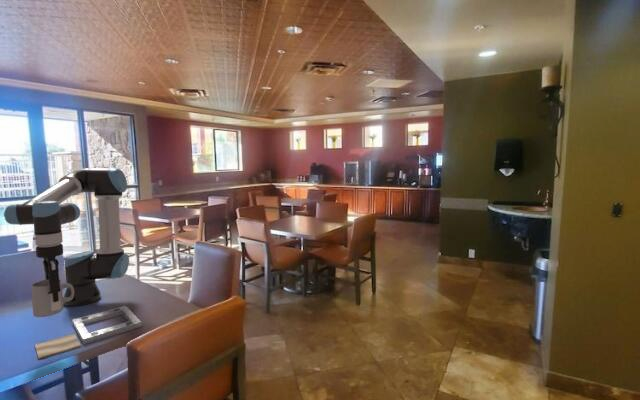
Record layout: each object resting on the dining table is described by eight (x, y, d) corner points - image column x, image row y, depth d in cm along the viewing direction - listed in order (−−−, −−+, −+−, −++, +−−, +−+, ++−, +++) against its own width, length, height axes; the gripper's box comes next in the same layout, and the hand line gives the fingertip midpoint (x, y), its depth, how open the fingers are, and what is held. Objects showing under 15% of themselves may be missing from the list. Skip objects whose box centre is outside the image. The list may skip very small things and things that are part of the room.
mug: (32, 319, 115) (29, 288, 114) (34, 311, 122) (31, 281, 121) (75, 310, 122) (73, 281, 121) (75, 303, 129) (73, 275, 128)
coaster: (34, 346, 124) (34, 344, 124) (74, 334, 132) (74, 333, 132) (38, 359, 116) (38, 358, 115) (80, 346, 124) (80, 344, 124)
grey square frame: (72, 324, 141) (72, 319, 141) (125, 309, 155) (125, 305, 155) (83, 344, 125) (83, 339, 125) (141, 326, 139) (141, 321, 139)
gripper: (32, 241, 125) (37, 300, 127) (39, 252, 110) (44, 318, 112) (58, 238, 130) (62, 295, 132) (67, 248, 115) (72, 311, 117)
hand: (54, 305), depth 122 cm, fingers closed on mug, 8 cm apart
